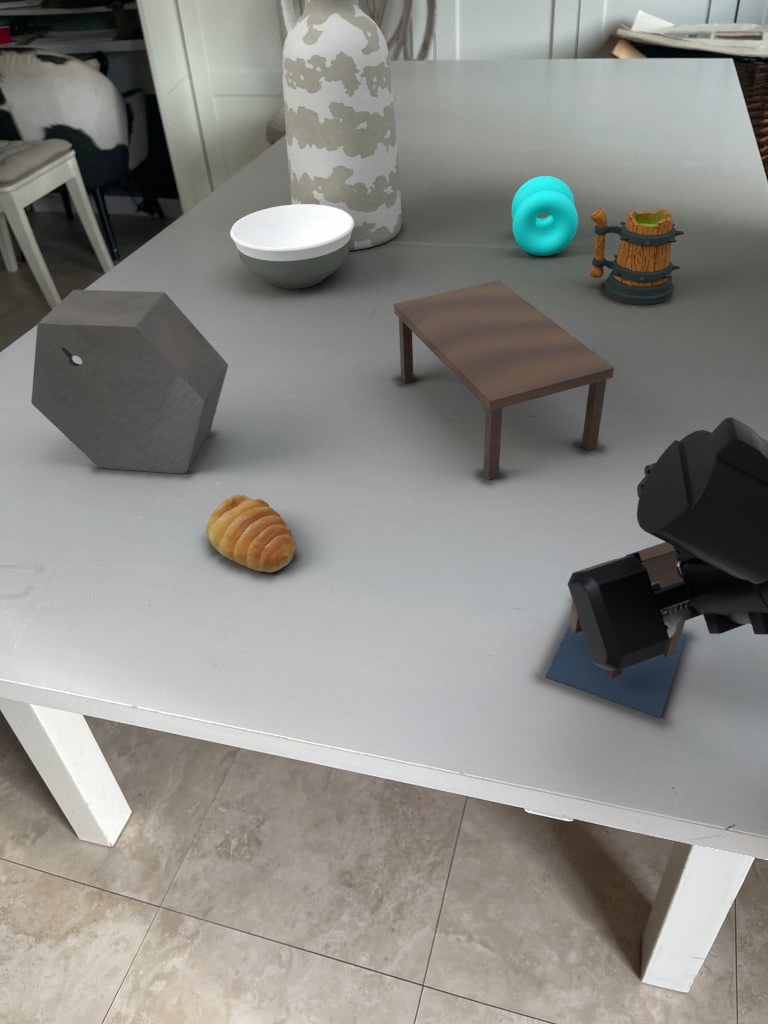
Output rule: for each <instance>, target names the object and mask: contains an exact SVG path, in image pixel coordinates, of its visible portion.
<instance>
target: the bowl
mask: <svg viewBox="0 0 768 1024" xmlns="http://www.w3.org/2000/svg"><path fill="white" fill-rule="evenodd" d="M353 227H354V220H353V218H352V217H351V216H350V215H349V214H348V213H347V212H345V211H343V210H341V209H338V208H335V207H330V206H325V205H315V204H296V205H292V204H285V205H278V206H272V207H267V208H265V209H260V210H257V211H255V212H252V213H249V214H247V215H245V216H243V217H241V218H240V219H238V220H237V221H236V222H235V223H233V225H231V228H230V231H229V233H230V238H231V239H232V240H233V242H234V244H235V246H236V248H237V252H238V255H239V258H240V260H241V262H242V263H243V264H244V266H245V267H246V268H247V269H248V270H249V272H251V273H252V274H254V275H255V276H257V277H259V278H260V279H262V280H265V281H266V282H269V283H272V284H274V286H277V287H279V288H282V289H291V290H292V289H304V288H309V287H310V288H311V287H312V286H315V285H318V284H320V283H321V282H323V280H325V278H327V277H329V276H330V275H331V274H333V273H334V272H335V271H336V270H338V269H339V268H340V266H342V265H343V263H344V262H345V260H346V259H347V257H348V254H349V252H350V251H351V250H350V239H351V232H352V230H353Z"/></svg>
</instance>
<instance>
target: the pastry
mask: <svg viewBox="0 0 768 1024" xmlns="http://www.w3.org/2000/svg"><path fill="white" fill-rule="evenodd" d="M205 533H206V535H207V537H208V540H209V542H210V544H211V546H212V547H213V548H214V549H215V550H216V551H217V552H218V553H219V554H221V556H223V557H225V558H227V559H229V561H233V562H234V563H236V564H238V565H239V566H244V567H246V568H248V569H250V570H253V571H257V572H264V573H265V572H266V573H274V572H278V571H279V570H281V569H282V568H285V567H286V566H288V565H289V563H291V562H292V560H293V558H294V555H295V551H296V548H297V543H296V541H295V539H294V537H293V536H292V531H291V529H290V528H288V526H287V523H286V522H285V520H284V518H283V517H282V516H281V514H280V513H279V512H277V511H276V510H275V509H274V508H273V507H271V506H270V504H269V503H268V502H267V501H264V500H262V499H261V498H255V499H253V498H250V497H248V496H247V495H245V494H235V495H232V496H229V497H227V498H226V499H224V500H222V501H221V502H220V503H219V504H218V506H217V507H216V508H215V509H214V510H213V511H212V512H211V513H210V516H209V518H208V521H207V523H206V526H205Z"/></svg>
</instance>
